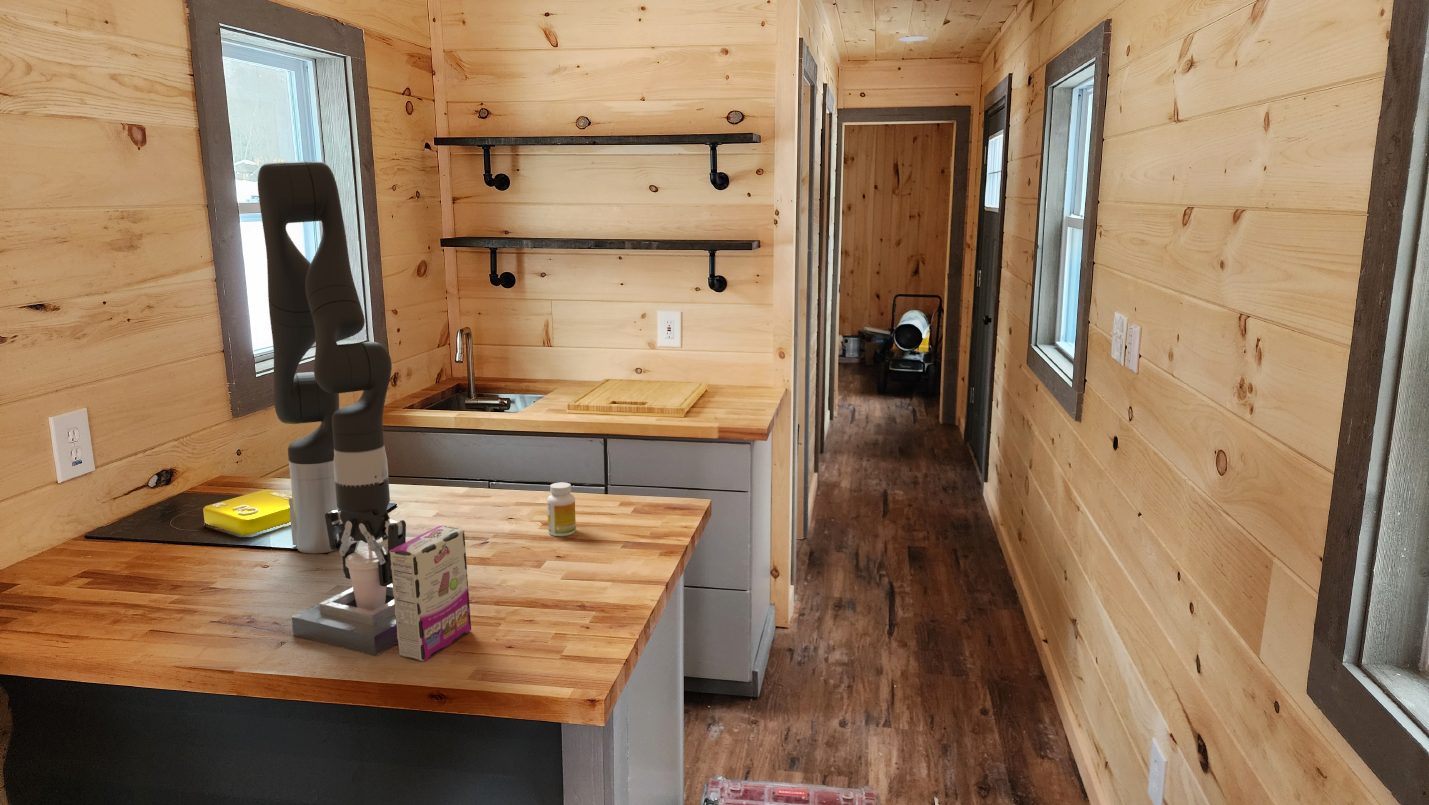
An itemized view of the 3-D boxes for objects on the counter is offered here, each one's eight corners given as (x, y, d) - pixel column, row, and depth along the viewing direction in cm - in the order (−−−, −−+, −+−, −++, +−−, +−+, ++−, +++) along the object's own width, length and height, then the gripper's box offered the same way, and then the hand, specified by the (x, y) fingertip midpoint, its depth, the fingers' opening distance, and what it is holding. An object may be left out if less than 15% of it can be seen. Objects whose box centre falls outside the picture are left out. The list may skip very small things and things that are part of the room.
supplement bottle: (581, 530, 187) (580, 483, 185) (563, 538, 182) (561, 490, 180) (560, 525, 190) (559, 479, 188) (542, 533, 185) (540, 486, 183)
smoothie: (379, 626, 142) (372, 538, 139) (341, 622, 143) (333, 535, 140) (401, 608, 148) (395, 523, 145) (364, 605, 149) (358, 520, 146)
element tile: (313, 520, 194) (311, 497, 193) (245, 542, 181) (243, 518, 180) (269, 507, 202) (267, 486, 201) (200, 527, 189) (198, 505, 188)
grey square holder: (293, 635, 142) (290, 607, 141) (371, 595, 156) (369, 570, 155) (375, 655, 135) (373, 626, 134) (448, 612, 150) (447, 586, 149)
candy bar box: (445, 625, 145) (439, 524, 142) (472, 631, 143) (466, 528, 140) (395, 657, 135) (387, 548, 132) (423, 663, 133) (416, 554, 130)
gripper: (305, 476, 140) (315, 582, 144) (380, 488, 135) (388, 598, 138) (344, 464, 147) (352, 565, 150) (416, 475, 141) (423, 579, 145)
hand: (369, 580), depth 144 cm, fingers closed on smoothie, 6 cm apart
